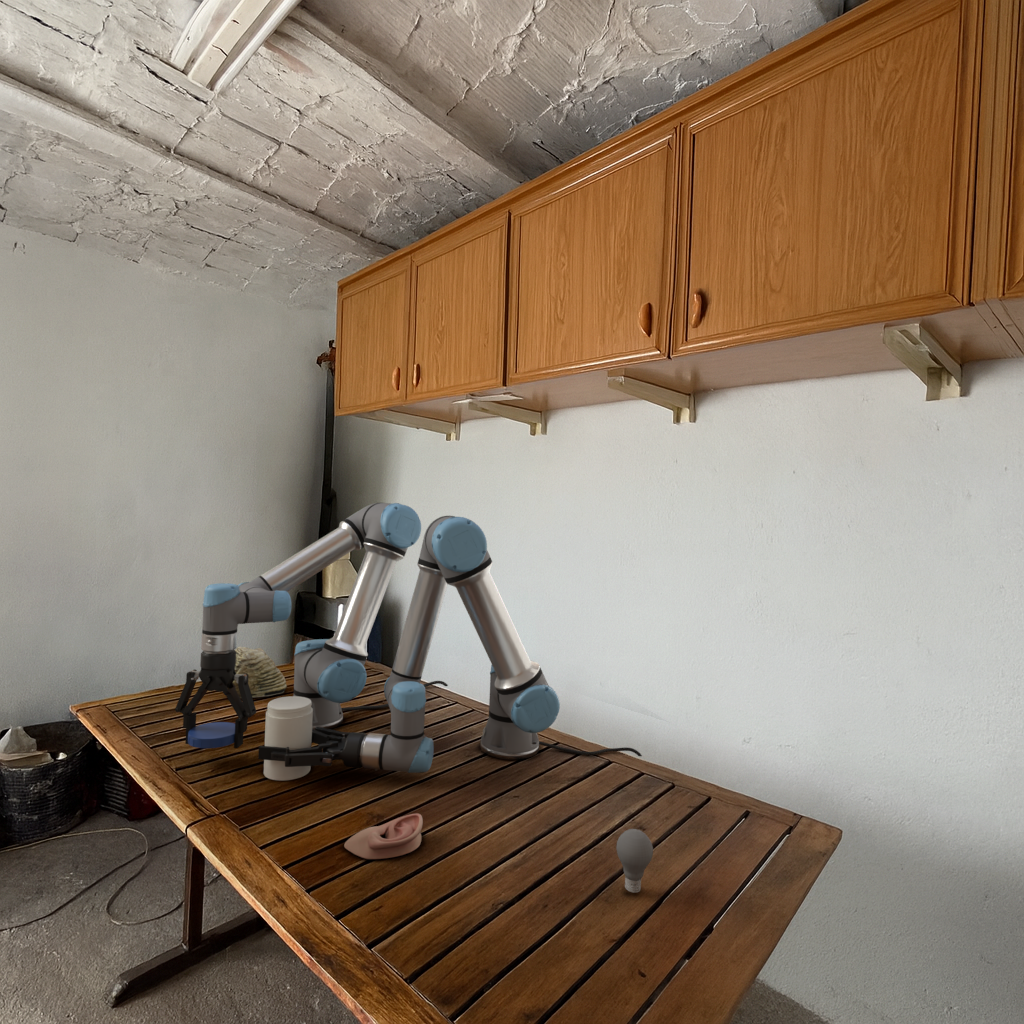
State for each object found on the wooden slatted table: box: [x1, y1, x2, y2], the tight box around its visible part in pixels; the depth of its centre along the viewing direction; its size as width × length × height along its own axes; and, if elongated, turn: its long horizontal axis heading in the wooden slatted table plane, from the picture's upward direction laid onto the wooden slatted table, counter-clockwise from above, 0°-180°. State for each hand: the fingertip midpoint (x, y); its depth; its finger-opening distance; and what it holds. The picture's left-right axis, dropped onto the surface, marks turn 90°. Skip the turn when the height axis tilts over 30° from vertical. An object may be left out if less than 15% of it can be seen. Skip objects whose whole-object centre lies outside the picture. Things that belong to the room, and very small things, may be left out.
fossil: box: [228, 646, 288, 699], centre depth 198 cm, size 9×18×15 cm, turn 132°
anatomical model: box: [343, 813, 424, 860], centre depth 117 cm, size 13×4×12 cm
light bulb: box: [615, 828, 654, 894], centre depth 106 cm, size 6×6×10 cm
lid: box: [187, 721, 235, 749], centre depth 148 cm, size 11×11×2 cm
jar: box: [263, 695, 313, 782], centre depth 145 cm, size 10×10×16 cm
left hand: (214, 744), depth 148 cm, fingers closed on lid, 11 cm apart
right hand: (270, 743), depth 146 cm, fingers closed on jar, 10 cm apart
